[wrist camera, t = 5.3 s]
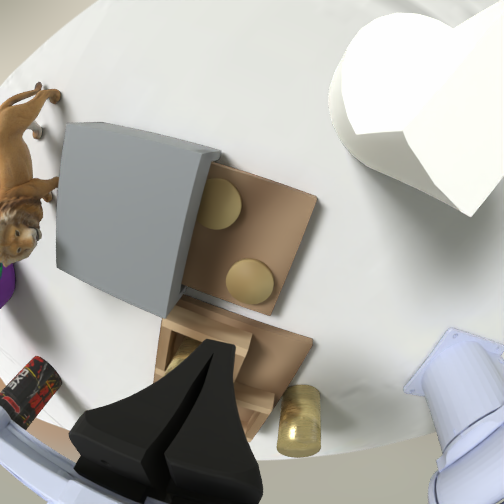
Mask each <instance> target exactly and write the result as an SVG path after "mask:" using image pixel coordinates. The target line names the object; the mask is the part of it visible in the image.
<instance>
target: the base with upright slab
mask: <svg viewBox="0 0 504 504" xmlns="http://www.w3.org/2000/svg"><path fill="white" fill-rule="evenodd" d="M328 108H329V112H330V116H331V121H332V125H333V127H334V129H335V131H336V133H337V135H338V137H339V139H340V141H341V142H342V143H343V145H344V146H345V147H346V148H347V149H348V151H349V152H350V153H351V154H352V155H353V156H354V157H355V158H356V159H358V160H359V161H360V162H362V163H363V164H364V165H366V166H367V167H369V168H371V169H374V170H376V171H378V172H381V173H383V174H385V175H387V176H390V177H392V178H394V179H396V180H399V181H401V182H403V183H405V184H407V185H409V186H411V187H413V188H416V189H418V190H420V191H422V192H424V193H426V194H428V195H430V196H432V197H434V198H436V199H438V200H440V201H442V202H444V203H446V204H447V205H449V206H451V207H453V208H455V209H457V210H459V211H460V212H462V213H464V214H466V215H467V216H469V217H471V216H472V215H473V214H474V213H475V212H476V210H477V209H478V208H479V207H480V206H481V204H482V203H483V202H484V201H485V199H486V198H487V197H488V196H489V194H490V193H491V192H492V191H493V189H494V188H495V187H496V185H497V184H498V183H499V181H500V180H501V179H502V177H503V176H504V0H501V1H499V2H497V3H495V4H494V5H492V6H490V7H488V8H487V9H485V10H483V11H481V12H480V13H478V14H476V15H475V16H473V17H471V18H470V19H468V20H466V21H465V22H463V23H462V24H460V25H458V26H457V27H455V28H454V29H452V28H451V27H449V26H447V25H446V24H444V23H442V22H441V21H439V20H436V19H433V18H430V17H427V16H423V15H420V14H412V13H394V14H390V15H386V16H382V17H379V18H376V19H375V20H373V21H372V22H370V23H369V24H367V25H366V26H364V27H363V28H362V29H360V31H359V32H358V33H357V35H356V36H355V38H354V39H353V40H352V42H351V43H350V44H349V46H348V48H347V50H346V52H345V53H344V55H343V57H342V59H341V61H340V63H339V65H338V67H337V69H336V71H335V73H334V75H333V78H332V81H331V85H330V88H329V102H328Z"/></svg>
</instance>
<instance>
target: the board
mask: <svg viewBox="0 0 504 504" xmlns="http://www.w3.org/2000/svg"><path fill="white" fill-rule="evenodd" d="M316 201H317V197H316V196H314V195H312V194H309V193H306V192H303V191H301V190H298V189H295V188H292V187H289V186H287V185H284V184H281V183H278V182H275V181H272V180H269V179H266V178H263V177H260V176H257V175H254V174H251V173H248V172H245V171H242V170H239V169H235V168H232V167H229V166H226V165H222V164H219V163H216V162H212V161H211V165H210V168H209V172H208V176H207V179H206V183H205V187H204V191H203V194H202V198H201V202H200V206H199V210H198V214H197V218H196V222H195V226H194V230H193V234H192V238H191V243H190V247H189V251H188V256H187V260H186V265H185V269H184V274H183V278H182V283H181V284H183V285H185V286H188V287H190V288H193V289H196V290H198V291H201V292H204V293H206V294H209V295H212V296H214V297H217V298H220V299H223V300H225V301H228V302H231V303H234V304H237V305H239V306H242V307H245V308H248V309H251V310H254V311H257V312H260V313H262V314H265V315H268V316H270V315H271V313H272V311H273V308H274V306H275V304H276V301H277V299H278V296H279V294H280V292H281V289H282V287H283V284H284V282H285V280H286V277H287V275H288V272H289V270H290V267H291V265H292V262H293V260H294V257H295V255H296V252H297V250H298V247H299V245H300V242H301V240H302V237H303V235H304V232H305V230H306V227H307V225H308V222H309V219H310V217H311V214H312V211H313V209H314V206H315V204H316Z"/></svg>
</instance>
